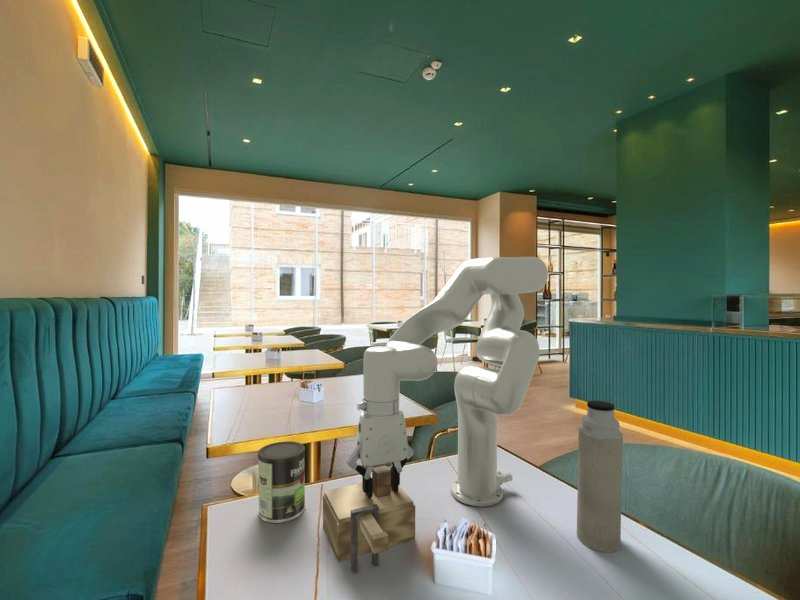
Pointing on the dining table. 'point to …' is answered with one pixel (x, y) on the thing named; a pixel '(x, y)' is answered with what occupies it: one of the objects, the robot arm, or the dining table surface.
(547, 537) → the dining table surface
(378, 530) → the tan rectangular block
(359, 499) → the lid
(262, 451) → the coffee can
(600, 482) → the thermos bottle
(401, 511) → the wooden box
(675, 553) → the dining table surface
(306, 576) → the dining table surface
